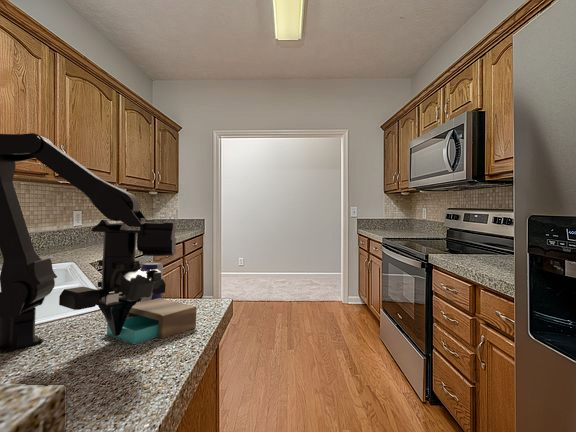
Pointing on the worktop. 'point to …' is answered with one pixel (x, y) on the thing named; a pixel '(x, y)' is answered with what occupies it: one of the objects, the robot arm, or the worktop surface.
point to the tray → (137, 329)
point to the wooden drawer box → (167, 315)
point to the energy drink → (147, 267)
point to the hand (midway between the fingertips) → (116, 335)
